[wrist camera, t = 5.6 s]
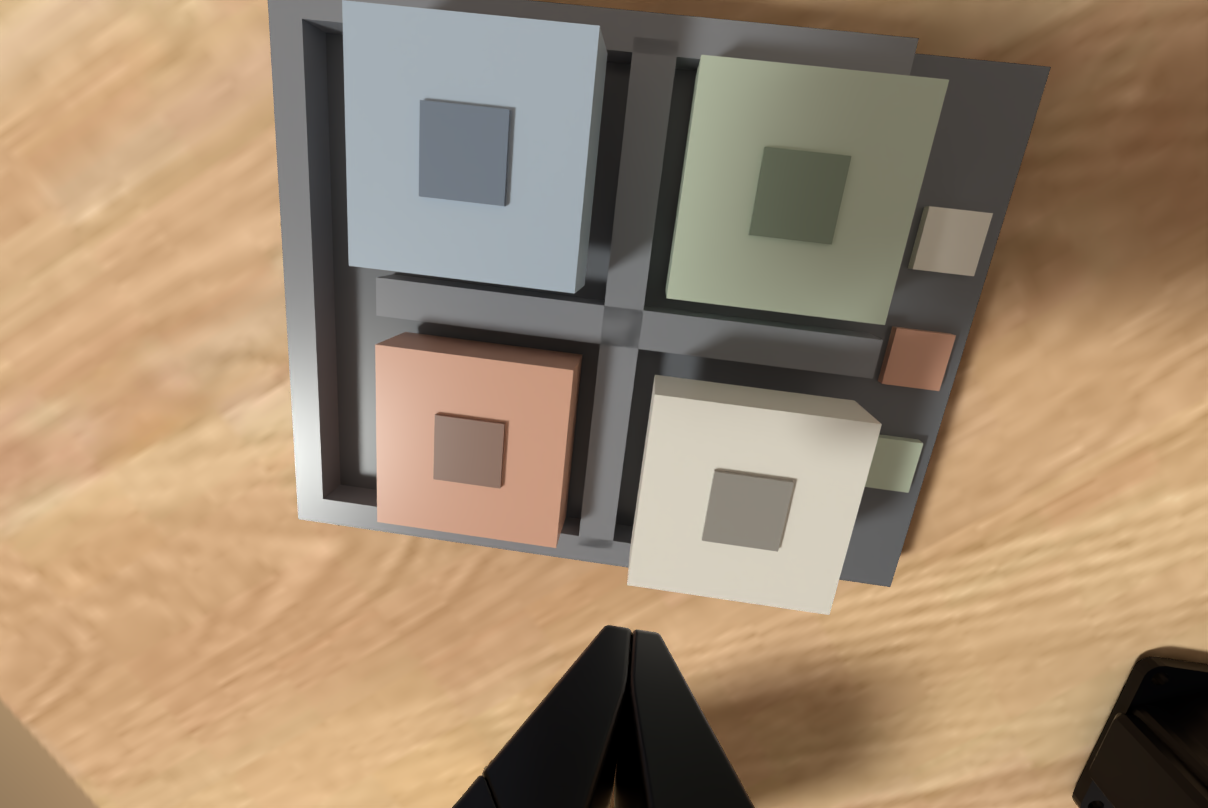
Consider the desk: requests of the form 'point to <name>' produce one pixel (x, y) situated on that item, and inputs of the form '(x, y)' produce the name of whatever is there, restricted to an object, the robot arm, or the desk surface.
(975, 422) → the desk surface
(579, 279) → the key slate
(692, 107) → the key sage
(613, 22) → the grey compartment tray
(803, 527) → the key ivory
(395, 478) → the key terracotta
